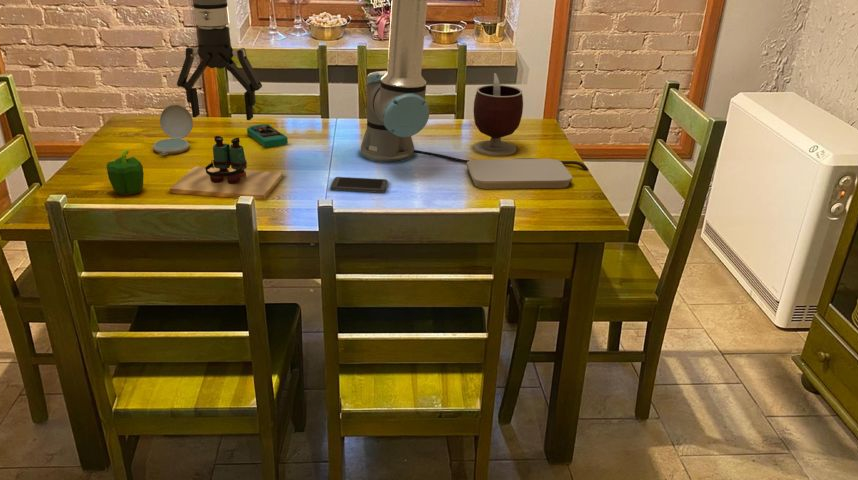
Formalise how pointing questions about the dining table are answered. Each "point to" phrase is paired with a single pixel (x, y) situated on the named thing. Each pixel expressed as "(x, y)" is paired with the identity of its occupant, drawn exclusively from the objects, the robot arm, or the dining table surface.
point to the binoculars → (227, 161)
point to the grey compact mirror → (174, 130)
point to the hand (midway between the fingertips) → (223, 117)
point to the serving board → (227, 184)
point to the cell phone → (359, 184)
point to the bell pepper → (126, 174)
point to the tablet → (518, 173)
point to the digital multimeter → (267, 135)
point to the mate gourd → (497, 116)
